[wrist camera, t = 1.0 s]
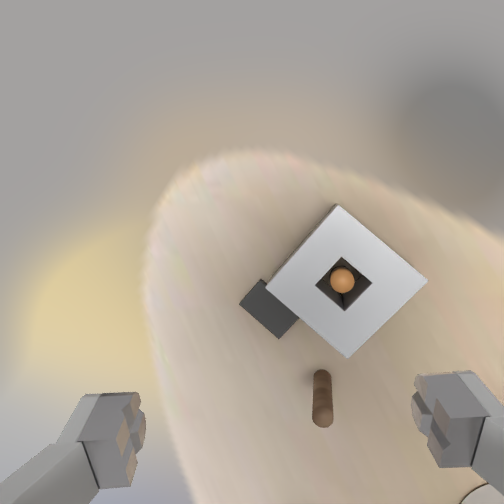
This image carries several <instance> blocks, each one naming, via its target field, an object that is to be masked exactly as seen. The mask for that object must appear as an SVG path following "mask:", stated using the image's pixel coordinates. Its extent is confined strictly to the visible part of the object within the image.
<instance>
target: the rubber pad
mask: <svg viewBox="0 0 504 504" xmlns="http://www.w3.org/2000/svg"><path fill="white" fill-rule="evenodd" d="M266 285H267V284H266V283H265V282H264V281H263V280H262V279H260V281H259V282H258V283H257V284H256V285H255V286H254V287H253V289H252V290H251V291H250V292H249V293H248V294H247V295H246V297H245V298H244V299H243V300H242V301H241V302H240V304H239V305H241V306H242V307H243V308H244V309H245V310H246V311H247V312H249V313H250V314H251V315H252V316H253V317H254V318H255V319H257V320H258V321H259V322H260V323H261V324H262V325H263V326H265V327H266V328H267V329H268V330H269V331H270V332H271V333H273V334H274V335H275V336H276V337H277V338H278V339H280V338H281V337H282V336H283V334H284V333H285V332H286V331H287V330H288V329H289V328H290V327H291V326H292V325H293V324H294V323H295V322H296V321H297V320H298V319H299V317H298V316H297V315H296V314H295V313H294V312H292V311H291V310H290V309H289V308H288V307H287V306H286V305H284V304H283V303H282V302H281V301H280V300H279V299H277V298H276V297H275V296H274V295H273V294H272V293H271V292H269V291H268V290H267V289H266V288H265V287H266Z"/></svg>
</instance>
